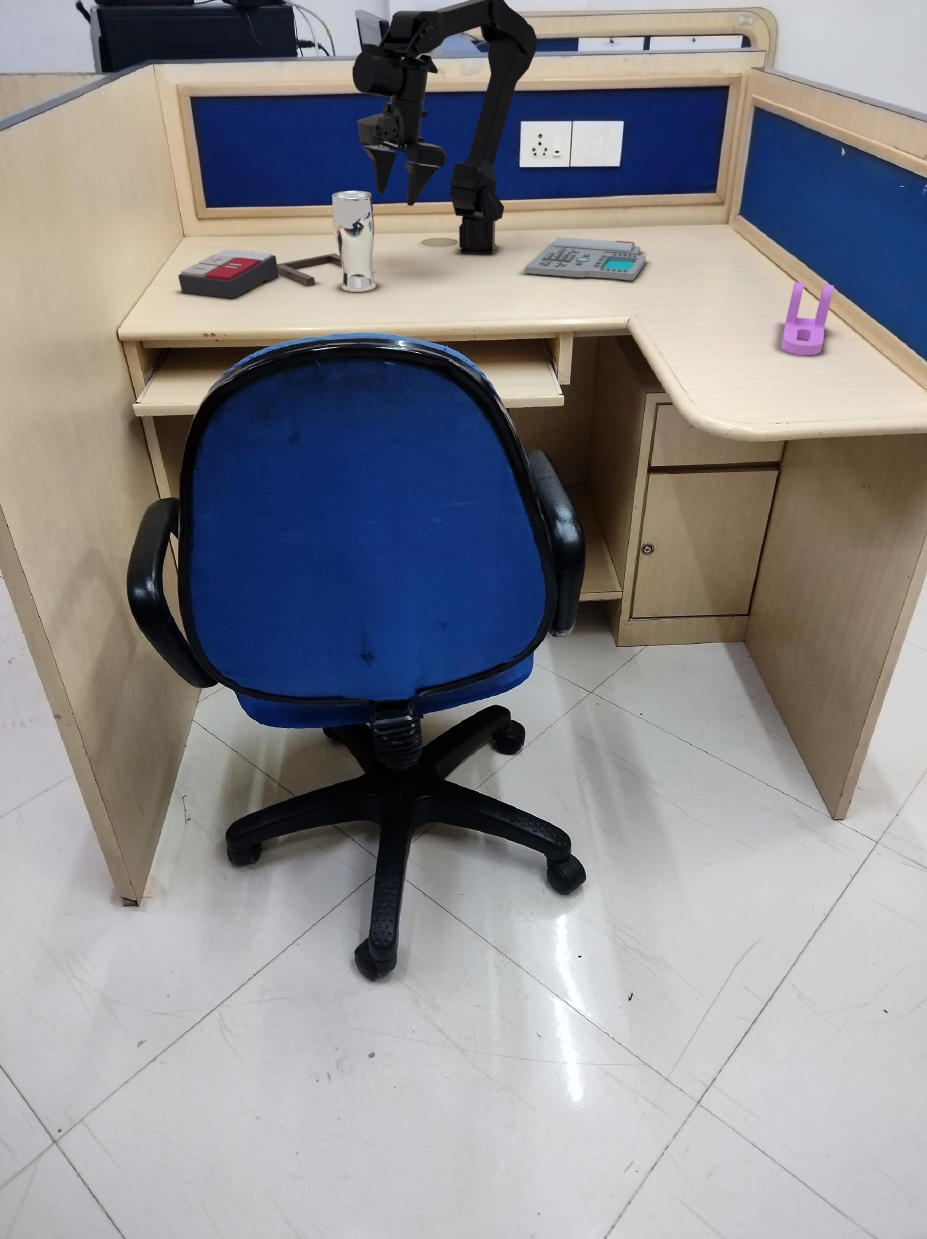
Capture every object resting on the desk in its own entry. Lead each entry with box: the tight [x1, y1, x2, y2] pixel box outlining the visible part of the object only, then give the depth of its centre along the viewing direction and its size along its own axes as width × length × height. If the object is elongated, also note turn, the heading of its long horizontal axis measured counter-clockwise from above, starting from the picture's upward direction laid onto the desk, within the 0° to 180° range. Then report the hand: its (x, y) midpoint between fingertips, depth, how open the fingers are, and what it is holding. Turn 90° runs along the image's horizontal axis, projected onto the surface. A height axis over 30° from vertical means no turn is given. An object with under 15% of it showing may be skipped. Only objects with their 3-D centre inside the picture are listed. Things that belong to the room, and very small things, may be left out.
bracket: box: [780, 281, 835, 356], centre depth 125 cm, size 13×6×7 cm, turn 160°
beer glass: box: [331, 190, 377, 293], centre depth 146 cm, size 7×7×15 cm
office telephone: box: [524, 236, 647, 281], centre depth 162 cm, size 23×3×20 cm
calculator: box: [177, 248, 279, 299], centre depth 151 cm, size 11×4×15 cm
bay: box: [277, 253, 342, 287], centre depth 158 cm, size 12×13×1 cm
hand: (395, 199), depth 153 cm, fingers open, 9 cm apart
